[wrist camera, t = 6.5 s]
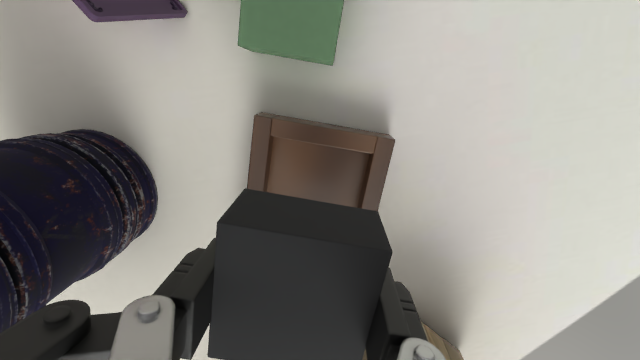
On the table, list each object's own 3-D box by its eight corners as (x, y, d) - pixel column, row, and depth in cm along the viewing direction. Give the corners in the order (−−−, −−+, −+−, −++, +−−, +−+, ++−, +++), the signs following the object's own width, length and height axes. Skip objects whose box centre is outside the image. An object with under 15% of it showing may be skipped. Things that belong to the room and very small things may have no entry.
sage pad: (349, -29, 19) (352, -51, 16) (332, 65, 20) (332, 62, 17) (260, -46, 19) (246, -71, 16) (251, 51, 20) (237, 45, 17)
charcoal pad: (377, 210, 12) (393, 251, 9) (351, 317, 14) (356, 382, 11) (244, 187, 12) (216, 221, 9) (234, 298, 14) (207, 357, 11)
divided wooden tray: (389, 134, 22) (395, 139, 20) (343, 326, 27) (343, 345, 25) (261, 111, 21) (254, 114, 19) (240, 308, 27) (233, 326, 25)
